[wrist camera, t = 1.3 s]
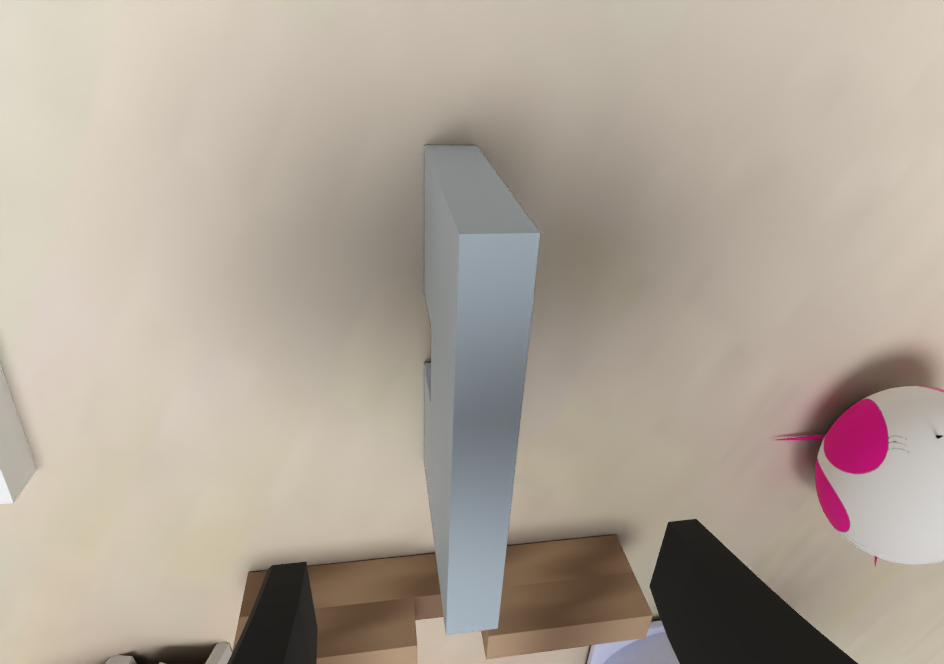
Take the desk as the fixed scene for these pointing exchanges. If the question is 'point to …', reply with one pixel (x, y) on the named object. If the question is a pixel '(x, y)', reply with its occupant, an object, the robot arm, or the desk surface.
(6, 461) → the mounting plate
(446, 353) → the upright grey panel
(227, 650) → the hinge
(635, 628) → the walnut plate
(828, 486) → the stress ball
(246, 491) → the desk surface
